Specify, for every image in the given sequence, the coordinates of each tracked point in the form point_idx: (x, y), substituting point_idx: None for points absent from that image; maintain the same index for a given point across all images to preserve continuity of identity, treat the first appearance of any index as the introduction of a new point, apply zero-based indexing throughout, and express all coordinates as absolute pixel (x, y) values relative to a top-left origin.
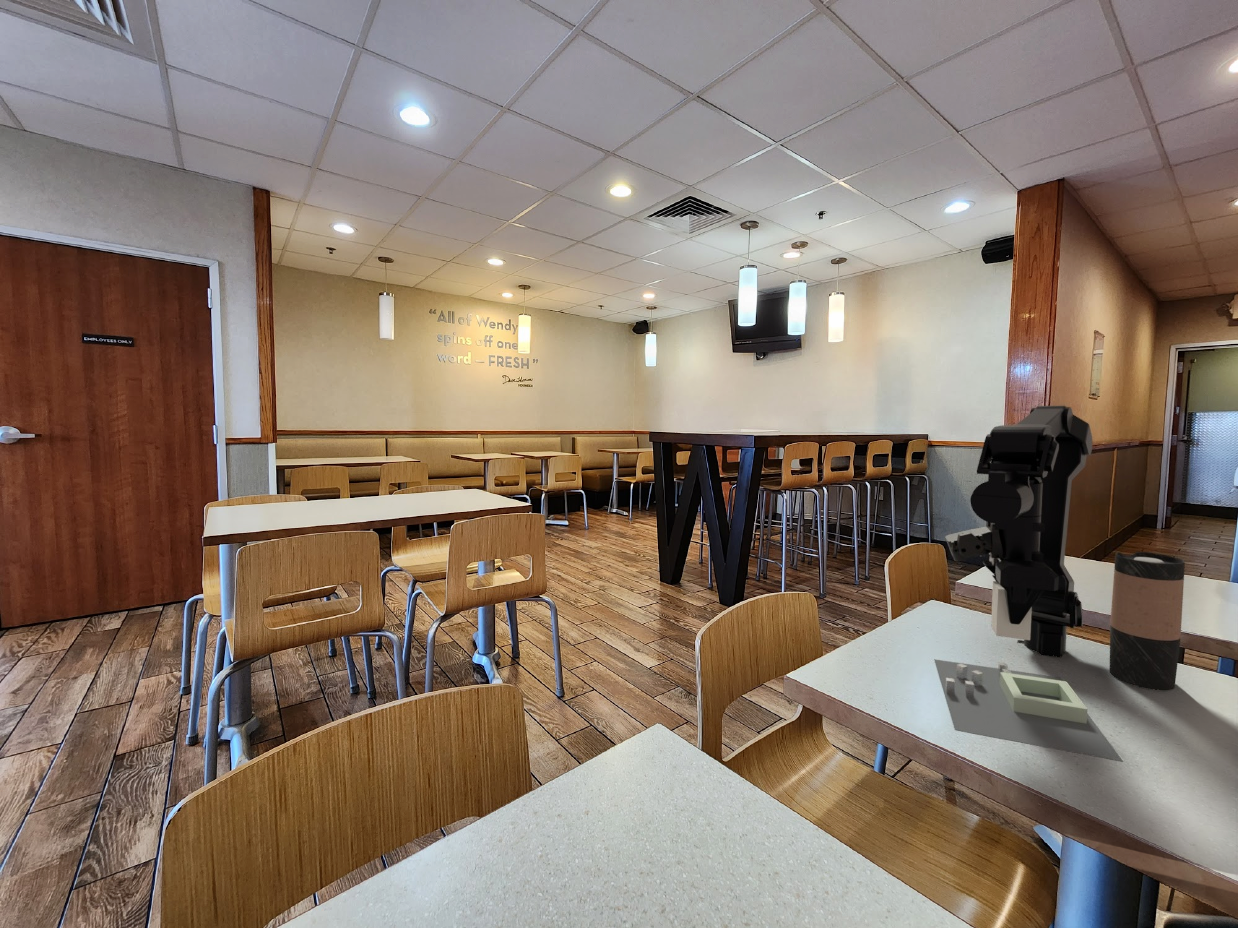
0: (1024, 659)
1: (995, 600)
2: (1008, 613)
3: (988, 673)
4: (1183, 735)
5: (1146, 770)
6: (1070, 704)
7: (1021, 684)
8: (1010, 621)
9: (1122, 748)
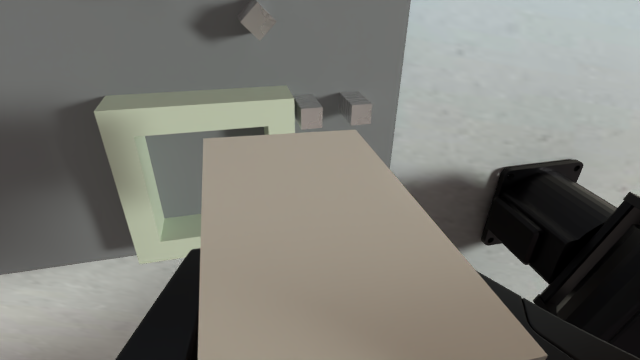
0: (490, 161)
1: (308, 257)
2: (188, 284)
3: (354, 65)
4: None
5: (25, 293)
6: (144, 236)
7: None
8: (187, 255)
9: (103, 271)
